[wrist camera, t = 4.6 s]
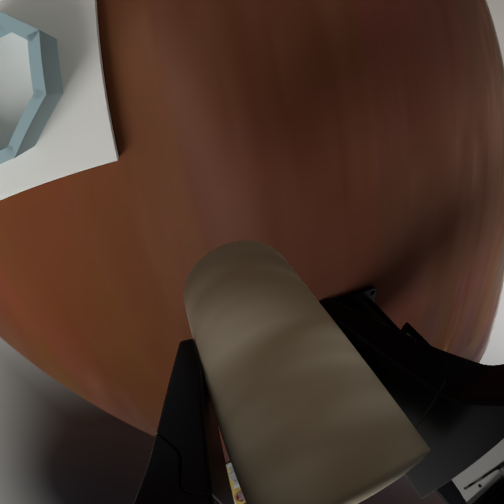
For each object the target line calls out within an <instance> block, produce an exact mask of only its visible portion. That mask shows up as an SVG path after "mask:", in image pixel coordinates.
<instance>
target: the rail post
mask: <svg viewBox="0 0 504 504" xmlns="http://www.w3.org/2000/svg"><path fill="white" fill-rule="evenodd" d="M183 300H184V305H185V309H186V313H187V317H188V321H189V325H190V329H191V333H192V337H193V340H194V342H195V346H196V350H197V353H198V357H199V361H200V364H201V368H202V371H203V375H204V379H205V383H206V387H207V390H208V394H209V397H210V400H211V403H212V407H213V410H214V413H215V416H216V419H217V422H218V426H219V429H220V432H221V435H222V438H223V441H224V444H225V446H226V449H227V452H228V455H229V458H230V461H231V464H232V466H233V469H234V472H235V475H236V477H237V480H238V483H239V485H240V488H241V491H242V493H243V496H244V498H245V501H246V503H247V504H358V503H360V502H361V501H363V500H365V499H367V498H368V497H370V496H372V495H374V494H375V493H377V492H379V491H380V490H382V489H383V488H385V487H386V486H388V485H390V484H391V483H393V482H394V481H396V480H397V479H398V478H400V477H401V476H403V475H404V474H405V473H407V472H408V471H409V470H410V469H412V468H413V467H414V466H415V465H417V464H418V463H419V462H420V461H421V460H422V459H423V458H424V457H425V456H426V455H427V454H428V453H429V452H430V448H429V446H428V445H427V444H426V442H425V441H424V439H423V438H422V437H421V435H420V434H419V433H418V431H417V430H416V429H415V427H414V426H413V424H412V423H411V422H410V420H409V419H408V418H407V416H406V415H405V414H404V412H403V411H402V410H401V408H400V407H399V406H398V404H397V403H396V402H395V400H394V399H393V398H392V396H391V395H390V394H389V392H388V391H387V390H386V388H385V387H384V386H383V384H382V383H381V382H380V380H379V379H378V378H377V376H376V375H375V374H374V372H373V371H372V370H371V368H370V367H369V366H368V364H367V363H366V362H365V361H364V359H363V358H362V357H361V355H360V354H359V353H358V351H357V350H356V349H355V347H354V346H353V345H352V344H351V342H350V341H349V340H348V338H347V337H346V336H345V334H344V333H343V332H342V331H341V329H340V328H339V327H338V325H337V324H336V323H335V322H334V320H333V319H332V318H331V316H330V315H329V314H328V313H327V311H326V310H325V309H324V308H323V306H322V305H321V304H320V302H319V301H318V300H317V299H316V297H315V296H314V295H313V294H312V292H311V291H310V290H309V288H308V287H307V286H306V285H305V283H304V282H303V281H302V280H301V278H300V277H299V276H298V275H297V273H296V272H295V271H294V270H293V268H292V267H291V266H290V264H289V263H288V262H287V261H286V259H285V258H284V257H283V256H282V255H281V254H280V253H279V252H278V251H277V250H276V249H274V248H273V247H271V246H269V245H267V244H264V243H261V242H256V241H238V242H232V243H229V244H226V245H223V246H220V247H218V248H216V249H214V250H213V251H211V252H209V253H208V254H207V255H205V256H204V257H203V258H202V259H201V260H199V261H198V262H197V264H196V265H195V266H194V267H193V268H192V270H191V272H190V273H189V275H188V277H187V279H186V282H185V285H184V291H183Z"/></svg>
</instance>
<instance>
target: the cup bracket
mask: <svg viewBox="0 0 504 504" xmlns="http://www.w3.org/2000/svg"><path fill="white" fill-rule="evenodd" d="M118 158H119V156H118V151H117V147H116V142H115V137H114V132H113V126H112V121H111V116H110V110H109V104H108V98H107V92H106V85H105V79H104V71H103V64H102V56H101V47H100V37H99V26H98V13H97V0H0V200H2V199H4V198H7V197H9V196H12V195H14V194H17V193H19V192H22V191H25V190H27V189H30V188H33V187H35V186H38V185H41V184H44V183H46V182H49V181H52V180H55V179H58V178H61V177H64V176H67V175H70V174H73V173H76V172H80V171H83V170H86V169H89V168H93V167H96V166H100V165H103V164H107V163H110V162H114V161H118Z"/></svg>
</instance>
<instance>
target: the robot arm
mask: <svg viewBox="0 0 504 504" xmlns="http://www.w3.org/2000/svg"><path fill="white" fill-rule="evenodd" d="M376 292H377V289H376V288H375V287H374V286H370V287H367V288H365V289H362V290H359V291H356V292H354V293H351V294H348V295H345V296H342V297H340V298H337V299H334V300H332V299H329V298H325V299H322V300H319V302H320V304H321V305H322V306H323V308H324V309H325V310H326V311H327V313H328V314H329V315H330V316H331V318H332V319H333V320H334V322H335V323H336V324H337V325H338V327H339V328H340V329H341V331H342V332H343V333H344V334H345V336H346V337H347V338H348V340H349V341H350V342H351V344H352V345H353V346H354V347H355V349H356V350H357V351H358V353H359V354H360V355H361V357H362V358H363V359H364V361H365V362H366V363H367V364H368V366H369V367H370V368H371V370H372V371H373V372H374V374H375V375H376V376H377V378H378V379H379V380H380V382H381V383H382V384H383V386H384V387H385V388H386V390H387V391H388V392H389V394H390V395H391V396H392V398H393V399H394V400H395V402H396V403H397V404H398V406H399V407H400V408H401V410H402V411H403V412H404V414H405V415H406V416H407V418H408V419H409V420H410V422H411V423H412V424H413V426H414V427H415V429H416V430H417V431H418V433H419V434H420V435H421V437H422V438H423V439H424V441H425V442H426V444H427V445H428V446H429V448H430V452H429V453H428V454H427V455H426V456H425V457H424V458H423V459H422V460H421V461H420V462H419V463H418V464H417V465H415V466H414V467H413V468H412V469H410V470H409V471H408V472H407V473H405V474H406V476H407V478H408V479H409V481H410V482H411V484H412V485H413V487H414V488H415V490H416V492H417V493H418V495H419V496H420V498H423V497H425V496H427V495H428V494H430V493H432V492H433V491H436V492H437V493H438V494H439V496H440V497H441V498H442V499H443V501H444V502H445V503H446V504H504V364H502V365H494V366H491V365H483V364H480V363H477V362H474V361H471V360H468V359H465V358H462V357H459V356H456V355H453V354H450V353H448V352H445V351H442V350H440V349H437V348H435V347H433V346H431V345H430V344H429V343H428V342H427V341H426V340H425V339H424V338H423V337H422V336H421V335H420V334H419V333H418V332H417V331H416V330H415V329H414V328H413V327H412V326H411V325H410V324H409V323H406V324H405V325H404V326H403V328H402V329H401V330H400V329H399V328H398V327H397V326H396V325H395V324H394V323H393V322H392V321H391V320H390V318H389V317H388V316H387V315H386V314H385V313H384V312H383V311H382V310H381V309H380V308H379V307H378V306H377V305H376V304H375V303H374V302H375V297H376ZM134 504H235V502H234V498H233V494H232V489H231V485H230V481H229V476H228V472H227V467H226V463H225V458H224V453H223V449H222V444H221V439H220V434H219V429H218V424H217V419H216V416H215V413H214V410H213V407H212V403H211V400H210V397H209V394H208V390H207V387H206V383H205V379H204V375H203V371H202V368H201V364H200V361H199V357H198V353H197V350H196V346H195V342H194V340H193V339H188V340H184V341H181V342H180V344H179V347H178V351H177V355H176V359H175V362H174V366H173V370H172V374H171V377H170V381H169V385H168V389H167V393H166V397H165V401H164V405H163V409H162V413H161V417H160V421H159V425H158V430H157V435H156V438H155V442H154V446H153V450H152V454H151V457H150V461H149V464H148V467H147V470H146V473H145V476H144V478H143V481H142V484H141V486H140V489H139V492H138V494H137V497H136V500H135V503H134Z"/></svg>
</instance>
